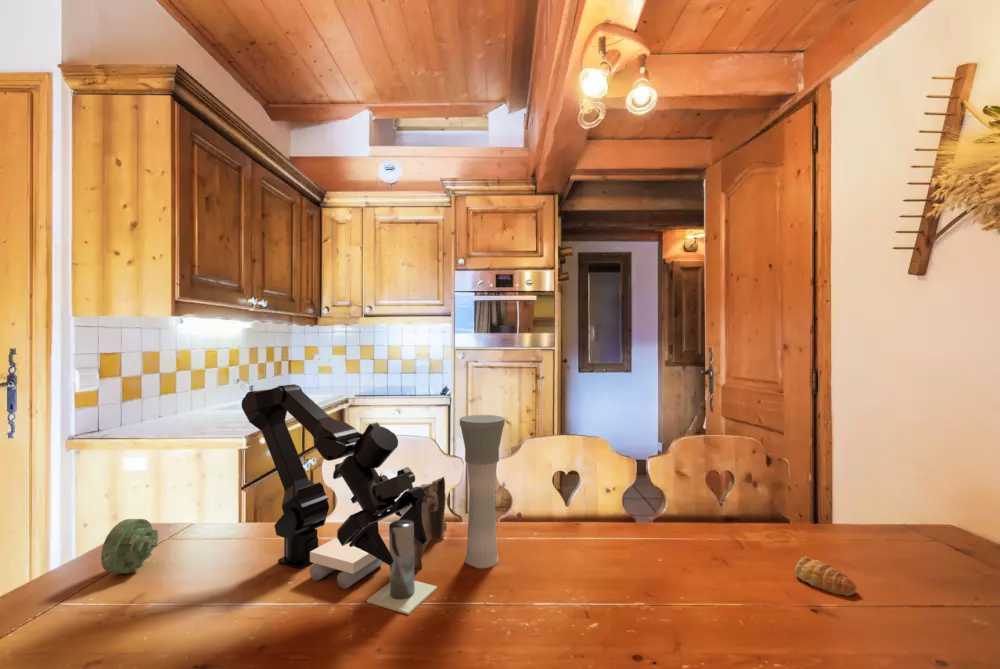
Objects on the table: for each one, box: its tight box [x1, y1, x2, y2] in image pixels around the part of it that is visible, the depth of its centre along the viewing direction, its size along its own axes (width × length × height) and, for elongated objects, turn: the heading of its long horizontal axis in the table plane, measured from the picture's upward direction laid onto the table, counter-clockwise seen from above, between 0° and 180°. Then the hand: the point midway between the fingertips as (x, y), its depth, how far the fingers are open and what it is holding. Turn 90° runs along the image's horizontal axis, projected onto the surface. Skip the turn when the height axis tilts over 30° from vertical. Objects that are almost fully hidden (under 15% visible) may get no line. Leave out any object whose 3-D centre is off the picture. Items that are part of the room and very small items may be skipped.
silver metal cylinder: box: [388, 519, 416, 600], centre depth 84 cm, size 4×4×12 cm
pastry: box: [794, 555, 857, 597], centre depth 88 cm, size 9×7×4 cm
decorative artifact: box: [100, 518, 159, 574], centre depth 93 cm, size 10×7×10 cm
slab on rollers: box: [309, 537, 384, 590], centre depth 92 cm, size 11×10×5 cm
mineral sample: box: [414, 476, 448, 569], centre depth 102 cm, size 17×4×15 cm, turn 168°
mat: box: [366, 580, 438, 616], centre depth 84 cm, size 9×9×1 cm
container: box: [459, 414, 505, 569], centre depth 98 cm, size 10×10×30 cm
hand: (409, 552), depth 84 cm, fingers open, 9 cm apart
